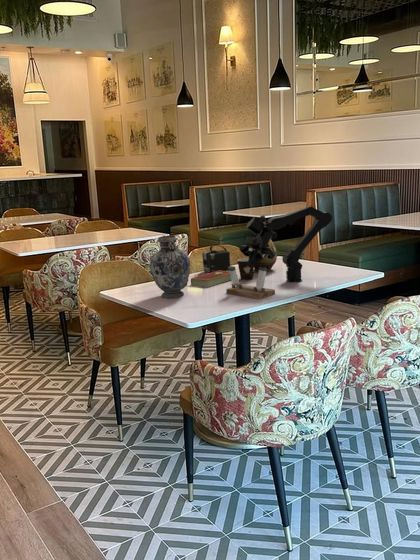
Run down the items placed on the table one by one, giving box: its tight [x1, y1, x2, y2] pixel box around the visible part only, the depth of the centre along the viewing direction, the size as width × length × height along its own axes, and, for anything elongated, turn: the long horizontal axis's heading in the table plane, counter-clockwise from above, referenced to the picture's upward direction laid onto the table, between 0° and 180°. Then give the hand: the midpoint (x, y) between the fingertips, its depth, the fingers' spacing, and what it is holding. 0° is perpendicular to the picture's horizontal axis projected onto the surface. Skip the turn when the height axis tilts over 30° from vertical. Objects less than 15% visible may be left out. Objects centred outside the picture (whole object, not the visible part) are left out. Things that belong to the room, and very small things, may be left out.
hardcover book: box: [190, 271, 232, 288], centre depth 273 cm, size 12×21×4 cm, turn 137°
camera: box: [202, 244, 231, 274], centre depth 299 cm, size 11×14×15 cm
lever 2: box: [255, 267, 268, 289], centre depth 236 cm, size 2×3×9 cm, turn 41°
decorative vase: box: [149, 234, 191, 299], centre depth 247 cm, size 21×19×28 cm
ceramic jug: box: [250, 214, 278, 272], centre depth 292 cm, size 17×15×30 cm
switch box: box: [226, 283, 276, 300], centre depth 242 cm, size 11×20×4 cm, turn 42°
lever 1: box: [228, 265, 241, 287], centre depth 244 cm, size 2×3×9 cm, turn 42°
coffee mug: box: [236, 257, 262, 281], centre depth 273 cm, size 12×9×10 cm
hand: (248, 266), depth 250 cm, fingers closed
